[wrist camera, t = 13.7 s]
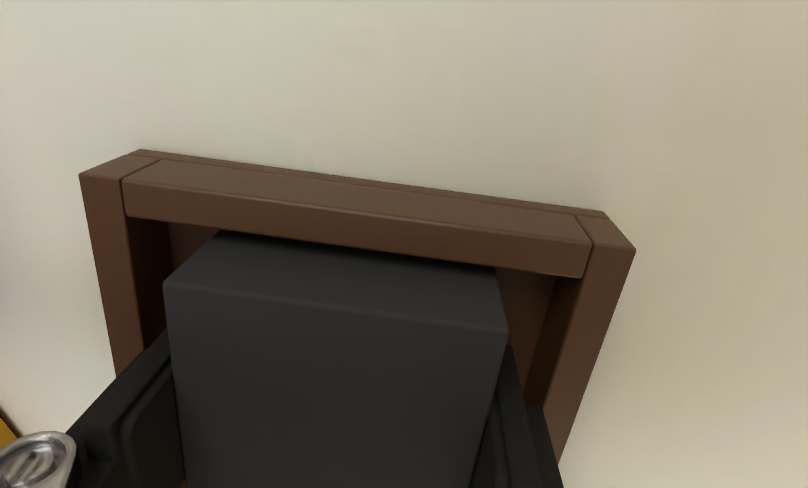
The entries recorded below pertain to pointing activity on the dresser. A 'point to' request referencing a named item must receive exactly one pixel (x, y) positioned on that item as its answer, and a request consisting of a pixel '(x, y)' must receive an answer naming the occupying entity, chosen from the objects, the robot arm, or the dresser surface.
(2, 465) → the robot arm
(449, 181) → the dresser surface
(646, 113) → the dresser surface
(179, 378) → the charcoal pad
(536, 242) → the backing frame
